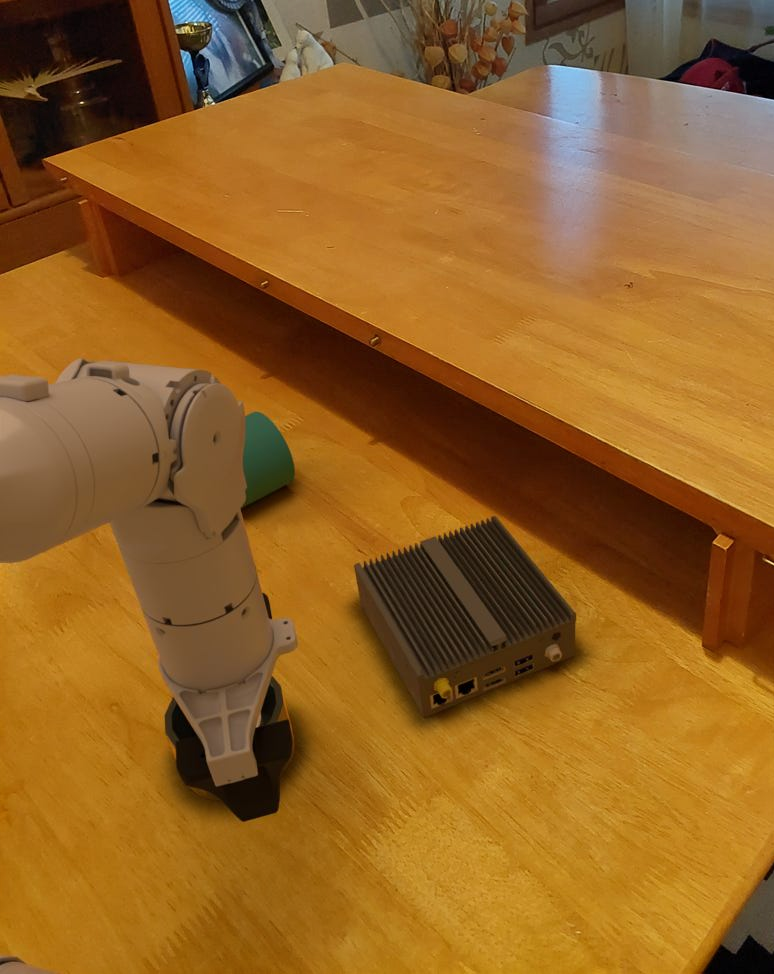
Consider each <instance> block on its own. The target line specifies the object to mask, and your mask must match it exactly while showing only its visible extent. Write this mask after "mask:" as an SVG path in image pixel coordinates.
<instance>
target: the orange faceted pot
mask: <svg viewBox="0 0 774 974" xmlns="http://www.w3.org/2000/svg"><path fill="white" fill-rule="evenodd" d="M261 715H262V719H263V722H264V725H267V724H271V723H275V722H279V721H283V720H287V719H289V722H290V728H291V734H292V741H293V746H292V753H291V758H290V759H289V760H288V761H287V762H286V764H285V765H284V767H283V769H282V772H281V776H280V778H281V777H282V776H283V774H285V772H286V771H287V769H288V767H289V766H290V764H291V762H292V760H293V758H294V753H295V745H296V744H295V743H296V742H295V737H294V732H293V727H292V723H291V719H290V715H289V711H288V708H287V703H286V700H285V696H284V692H283V689H282V685H281V684H280V683H279V682H278V681H277V679H276V678H275V677H274V676H273V675H272V676H271V680H270V683H269V686H268V689H267V692H266V696H265V700H264V706H263V707H262V708H261ZM164 734H165V736H166V739H167V741H168V744H169V746H170V750H171V752H172V754H173V756H174V759H175V760H176V745H175V742H176V741H179V740H183V739H187V738H191V737H195V736H198V735H197V734H196V732H195V731H194V729H193V727H192V726H191V724H190V722H189V721H188V719H187V718H186V716H185V714H184V713H183V711H182V710H181V708H180V706H179V705H178V703H177V702H176V700H175V698H174V697H173V696H172V698H171V700H170V703H169V705H168V707H167V709H166V711H165V713H164ZM189 789H190V790H191V791H193V793H195V794H196V795H197V796H199V797H201V798H204V799H206V800H209V801H213V802H219V803H220V802H221V803H223V802H222V801H221V800H220V799H219V798H218V797H216V796H215V795H214V794H212V793H210V792H208V791H205V790H202V789H198V788H194V787H189Z"/></svg>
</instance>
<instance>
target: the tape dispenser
mask: <svg viewBox="0 0 774 974" xmlns="http://www.w3.org/2000/svg"><path fill="white" fill-rule="evenodd" d="M245 425H246V429H245V444H244V450H243V471H244V476H245V480H246V484H247V488H246V490H245V494H246V500H245V503H244V504H243V505H242V507H241V508H240V509H241V510H242V509H243V508H245V507H247V506H249V505H251V504H253V503H255V502H257V501H259V500H260V499H262V498H264V497H266V496H268V495H270V494H273V492H275V491H278V490H279V489H281V488H283V487H285V486H287V485H289V484H290V483H292V482H293V481H294V479H295V475H296V474H295V473H296V470H295V461H294V459H293V455H292V452H291V450H290V447H289V445H288V442H287V441H286V440H285V437H284V435H283V434H282V432H281V431H280V429H279V428H278V427H277V425H276V424H275V423H274V421H272V420H271V419H270V417H268V416H267V415H265V413H263V412H261V411H252V412H250V413H248V414H245Z"/></svg>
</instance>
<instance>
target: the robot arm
mask: <svg viewBox="0 0 774 974" xmlns="http://www.w3.org/2000/svg"><path fill="white" fill-rule="evenodd" d="M245 416H246V413H245V406H244V402H243V400H239V401H238V400H237V398H236V396H235V395H234V393H233V391H232V390H231V389H230V388H229V387H228V386H226V385H224V384H222V383H221V381H220V380H219V379H218V377H217V376H213V375H212V372H210V371H209V370H204V369H197V368H196V369H195V368H186V367H177V366H167V365H157V364H145V363H137V362H126V361H118V360H117V361H116V360H100V361H97V360H86V359H85V358H82V357H78V358H77V359H75V360H73V361H71V362H70V363H69V364H68V365H67V366H66V367H65V368H64V370H62V372H61V373H60V374H59V376H58V377H57V378H56V380H55V382H53V383H49V382H48V380H47V379H46V378H45V377H41V376H31V375H21V374H7V375H2V376H0V564H14V563H21V562H25V561H28V560H31V559H32V558H34V557H36V556H39V555H40V554H44V553H46V552H48V551H51V550H52V549H54V548H57V547H59V546H61V545H63V544H65V543H68V542H70V541H72V540H75V539H76V538H79V537H80V536H83V535H85V534H87V533H90V532H92V531H94V530H97V529H99V528H101V527H102V526H105V525H107V524H109V525H110V528H111V530H112V532H113V533H112V534H113V536H114V538H115V542H116V544H117V547H118V550H119V553H120V555H121V558H122V559H123V563H124V566H125V568H126V571H127V574H128V576H129V579H130V582H131V585H132V587H133V590H134V593H135V596H136V598H137V601H138V603H139V607H140V609H141V611H142V614H143V617H144V619H145V623H146V625H147V628H148V631H149V634H150V636H151V639H152V642H153V644H154V647H155V650H156V653H157V655H158V661H157V664H158V669H159V672H160V675H161V677H162V680H163V683H164V684H165V685H166V688H167V689H168V690H169V692H170V694H171V695H172V698H173V697H174V698H175V700H176V702H177V703H178V705H179V706H180V708H181V710H182V711H183V713H184V714H185V716H186V718H187V719H188V721H189V722H190V724H191V726H192V727H193V729H194V731H195V732H196V734H197V735H198V736H195V737H191V738H187V739H183V740H179V741H176V742H175V745H176V759H175V765H176V770H177V773H178V776H179V777H180V779H181V781H182V782H183V783H184V785H185V786H187V787H188V788H190V787H194V788H198V789H202V790H205V791H208V792H210V793H212V794H214V795H215V796H216V797H218V798H219V799H220V800H221V801H222V802H221V803H223V804H224V805H225V806H226V808H228V810H229V811H230V812H231V813H232V814H233V815H234V816H235V817H236V818H237V819H238V820H240V821H241V822H243V823H245V822H248V821H252V820H255V819H259V818H262V817H267V816H271V815H273V814H277V812H278V811H279V808H280V802H281V801H280V800H281V777H282V776H281V772H282V769H283V767H284V765H285V764H286V762H287V761H288V760H289V759H290V758H291V753H292V746H293V741H292V734H291V728H290V722H291V721H290V722H289V719H287V720H283V721H279V722H275V723H271V724H267V725H264V726H260V727H256V724H257V721H258V718H259V715H260V712H261V708H262V707H263V706H264V700H265V696H266V692H267V689H268V686H269V683H270V680H271V676H273V673H274V670H275V666H276V663H277V660H278V659H279V658H280V657H281V656H282V655H285V654H290V653H292V652H294V651H295V650H296V649H297V648H298V644H299V643H298V637H297V632H296V628H295V624H294V621H293V620H292V619H291V618H289V617H282V618H277V619H273V614H272V609H271V602H270V599H269V596H268V595H267V594H266V593H264V592H263V591H262V587H261V584H260V578H259V574H258V571H257V567H256V564H255V563H256V562H255V560H254V559H255V558H254V556H253V555H254V554H253V552H252V547H251V544H250V540H249V535H248V533H247V529H246V524H245V520H244V518H243V517H244V516H243V513H242V508H241V507H242V505H243V504H244V503H245V500H246V494H245V490H246V488H247V484H246V480H245V476H244V471H243V450H244V444H245V429H246V425H245ZM240 508H241V509H240ZM280 776H281V777H280ZM0 974H60V973H58V972H55V971H52V970H50V969H49V970H48V969H45V968H41V967H39V966H34V965H31V964H28V963H26V962H25V961H24V960H22V959H21V958H19V957H18V956H15V955H12V954H5V953H4V954H3V953H2V954H1V953H0Z"/></svg>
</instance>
